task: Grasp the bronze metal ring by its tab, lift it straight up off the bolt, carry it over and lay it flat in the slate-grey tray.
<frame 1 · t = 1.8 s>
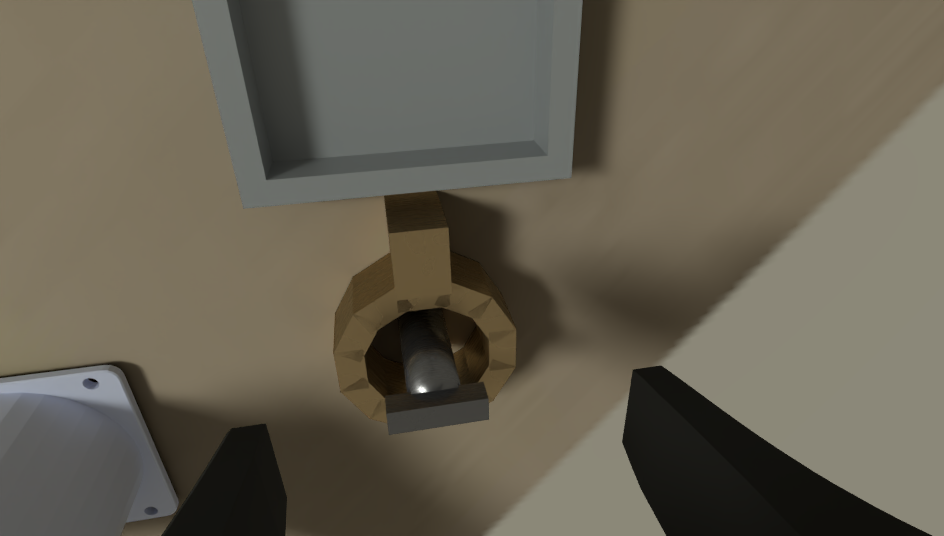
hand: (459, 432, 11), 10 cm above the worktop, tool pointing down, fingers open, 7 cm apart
ring: (421, 320, 22), on the worktop
bolt: (421, 320, 22), on the worktop
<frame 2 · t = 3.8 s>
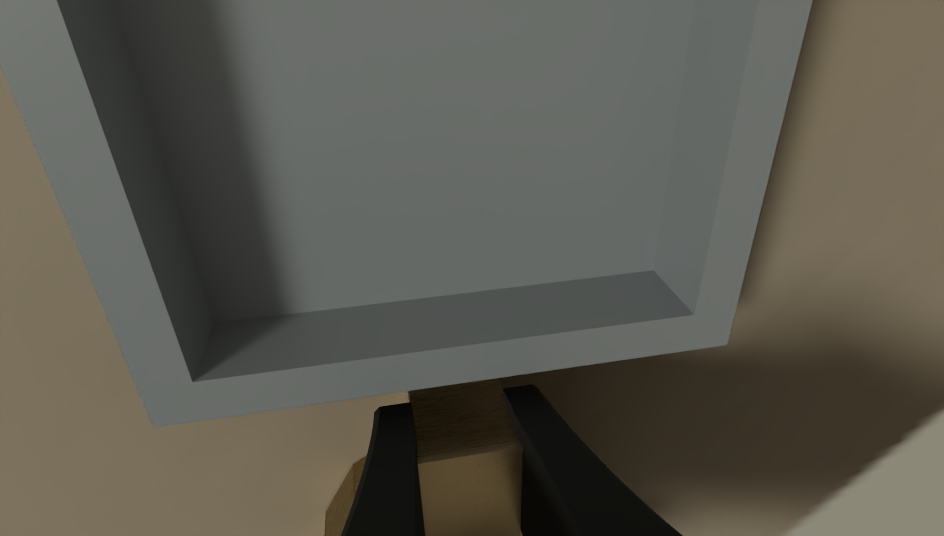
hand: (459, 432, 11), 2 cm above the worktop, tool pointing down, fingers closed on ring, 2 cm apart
ring: (456, 511, 15), on the worktop, touching gripper
tray: (424, 10, 9), on the worktop
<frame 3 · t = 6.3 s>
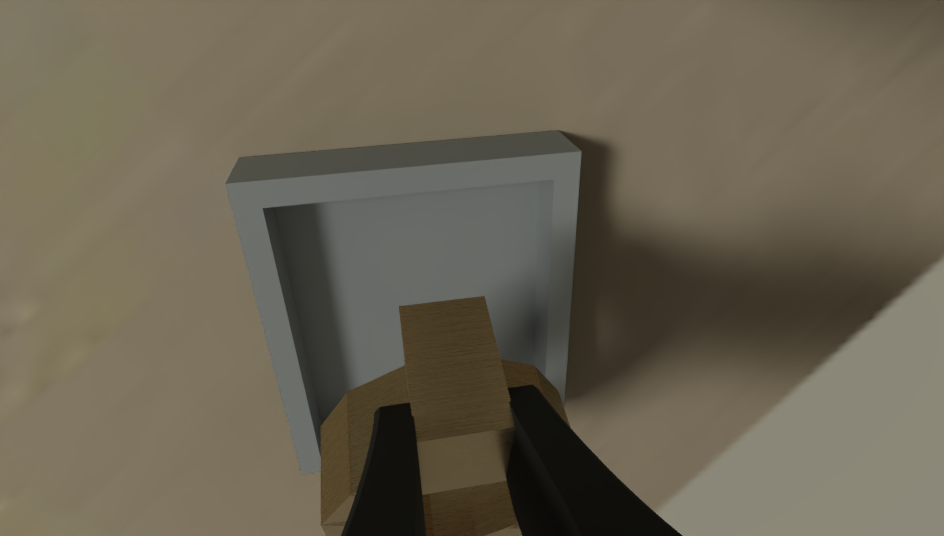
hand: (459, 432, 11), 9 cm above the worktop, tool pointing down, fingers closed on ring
ring: (443, 422, 16), point 6 cm above the worktop, tilted 18°, touching gripper
tray: (418, 296, 21), on the worktop
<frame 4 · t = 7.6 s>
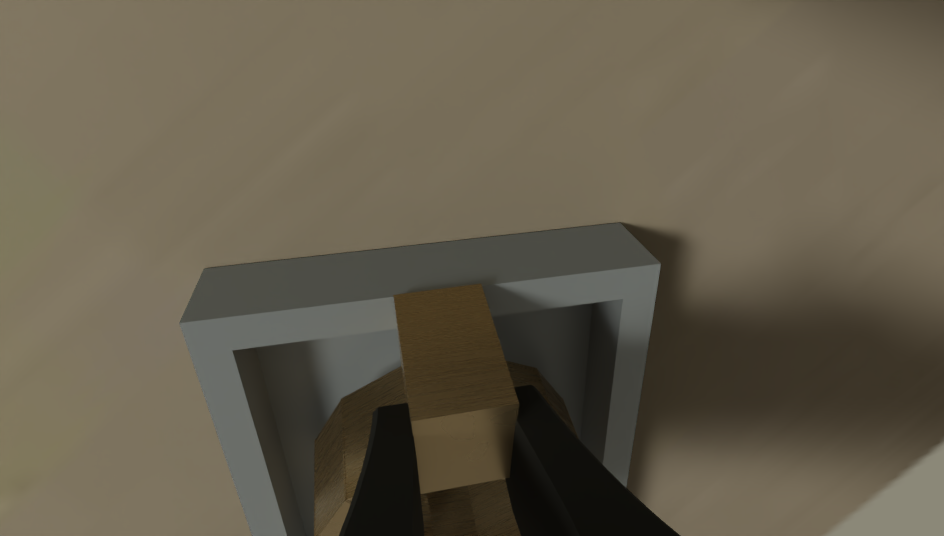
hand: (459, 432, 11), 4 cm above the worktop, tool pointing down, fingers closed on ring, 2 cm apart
ring: (443, 437, 15), point 1 cm above the worktop, tilted 12°, touching gripper, tray
tray: (437, 419, 16), on the worktop
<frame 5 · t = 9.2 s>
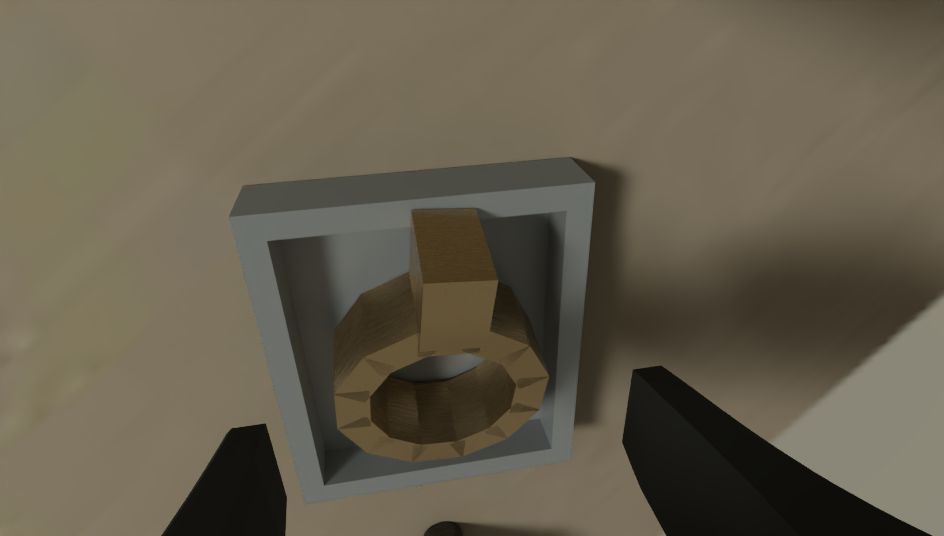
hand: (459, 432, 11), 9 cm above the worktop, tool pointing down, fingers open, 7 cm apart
ring: (433, 341, 19), point 1 cm above the worktop, tilted 11°, touching tray
bolt: (443, 535, 26), on the worktop
tray: (425, 323, 20), on the worktop
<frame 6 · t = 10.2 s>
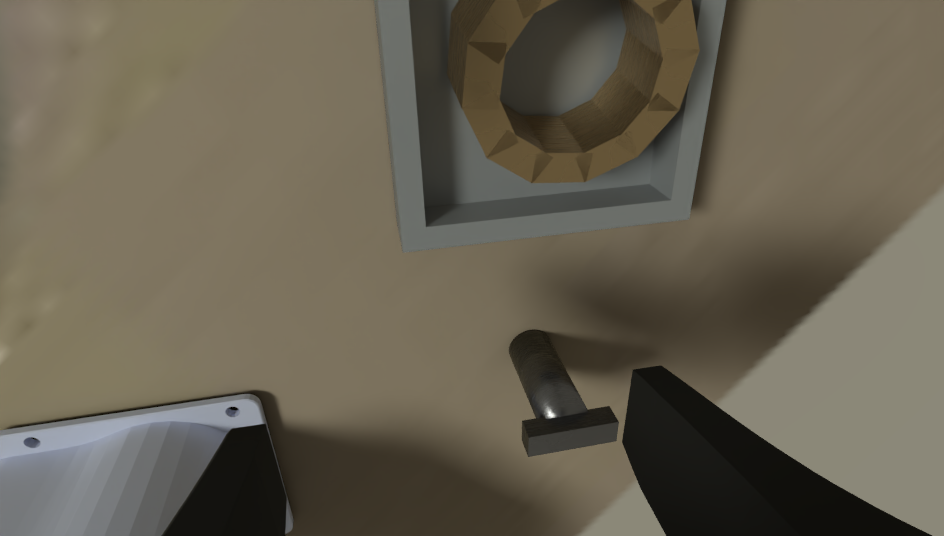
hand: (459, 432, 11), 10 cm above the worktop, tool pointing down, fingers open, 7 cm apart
ring: (553, 47, 17), point 1 cm above the worktop, tilted 11°, touching tray
bolt: (529, 347, 24), on the worktop
tray: (537, 45, 18), on the worktop
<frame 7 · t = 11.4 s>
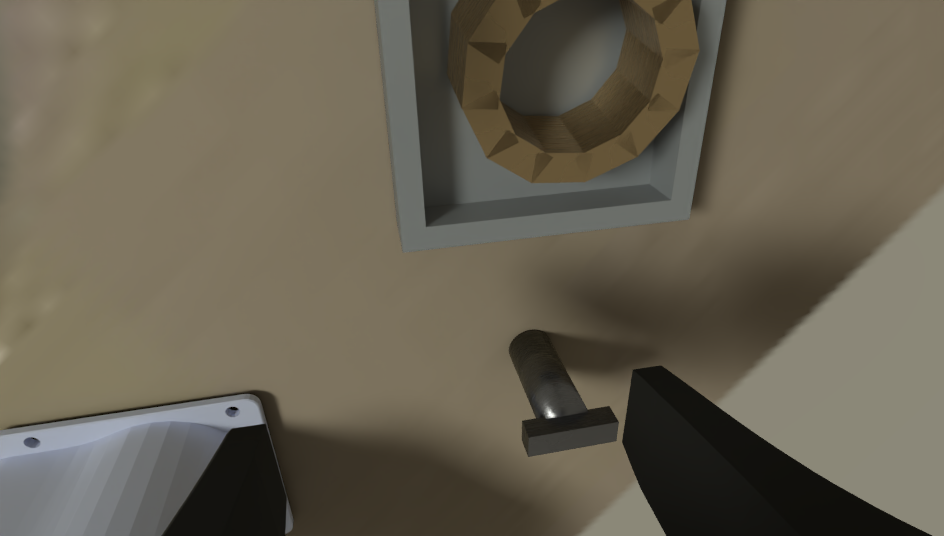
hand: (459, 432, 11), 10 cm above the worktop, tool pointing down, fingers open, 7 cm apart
ring: (553, 47, 17), point 1 cm above the worktop, tilted 11°, touching tray
bolt: (529, 347, 24), on the worktop
tray: (537, 45, 18), on the worktop
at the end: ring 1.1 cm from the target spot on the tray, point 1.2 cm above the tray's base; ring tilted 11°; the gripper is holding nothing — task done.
